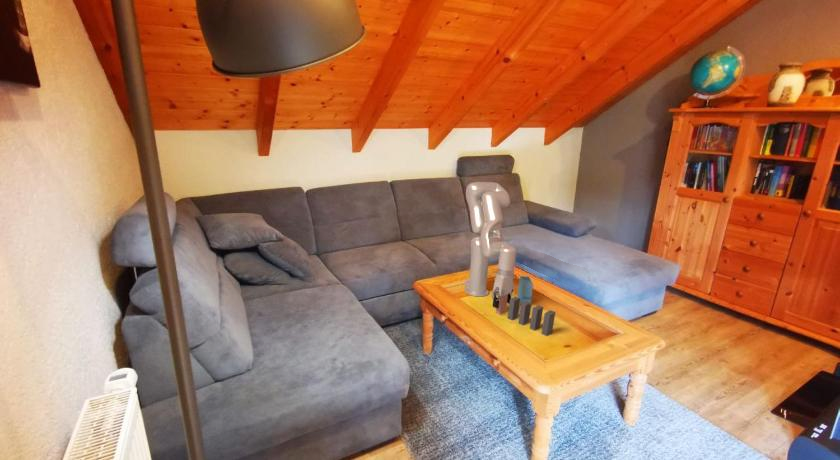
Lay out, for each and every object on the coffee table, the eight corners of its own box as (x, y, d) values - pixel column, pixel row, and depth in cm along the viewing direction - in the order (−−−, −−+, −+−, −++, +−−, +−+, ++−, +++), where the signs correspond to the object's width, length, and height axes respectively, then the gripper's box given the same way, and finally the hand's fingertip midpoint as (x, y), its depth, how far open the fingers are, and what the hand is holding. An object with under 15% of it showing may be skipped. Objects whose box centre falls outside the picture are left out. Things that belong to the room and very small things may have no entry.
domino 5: (541, 333, 177) (544, 313, 175) (547, 330, 181) (550, 310, 178) (546, 335, 176) (549, 315, 173) (552, 332, 179) (555, 312, 176)
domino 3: (518, 323, 186) (521, 303, 183) (524, 320, 189) (527, 300, 186) (522, 325, 184) (525, 305, 181) (528, 322, 187) (531, 302, 185)
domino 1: (495, 313, 195) (497, 294, 192) (501, 310, 198) (503, 291, 195) (499, 314, 193) (502, 295, 190) (505, 312, 196) (508, 293, 194)
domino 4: (529, 328, 181) (532, 308, 179) (535, 325, 185) (538, 305, 182) (534, 330, 180) (537, 310, 177) (540, 327, 183) (543, 307, 181)
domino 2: (507, 318, 190) (510, 298, 187) (513, 315, 193) (516, 296, 191) (511, 320, 188) (514, 300, 186) (517, 317, 191) (520, 298, 189)
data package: (530, 306, 205) (533, 284, 202) (521, 305, 205) (524, 283, 202) (525, 296, 217) (528, 275, 214) (517, 295, 217) (520, 275, 214)
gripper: (509, 266, 199) (505, 298, 203) (488, 273, 187) (484, 306, 191) (522, 270, 193) (518, 303, 198) (501, 278, 182) (497, 312, 186)
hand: (501, 304), depth 194 cm, fingers open, 9 cm apart
